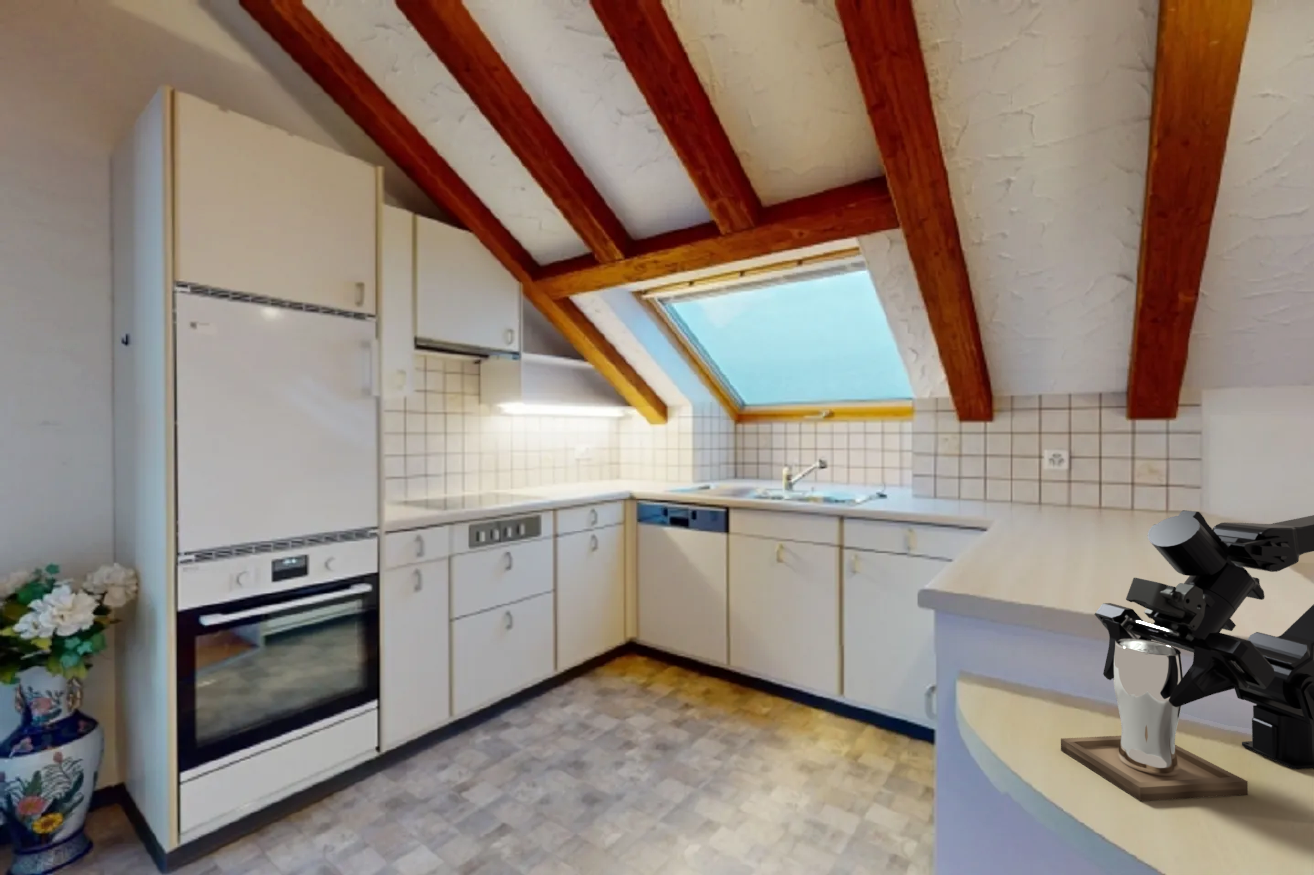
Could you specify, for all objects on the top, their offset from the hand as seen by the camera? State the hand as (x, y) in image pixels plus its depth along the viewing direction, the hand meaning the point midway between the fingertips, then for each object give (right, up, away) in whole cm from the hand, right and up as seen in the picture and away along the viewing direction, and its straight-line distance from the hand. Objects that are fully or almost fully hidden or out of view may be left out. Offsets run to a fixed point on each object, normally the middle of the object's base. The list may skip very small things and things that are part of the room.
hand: (1137, 690), depth 76 cm
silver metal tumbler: (+1, -10, 0) cm, 10 cm away
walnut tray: (+1, -10, 0) cm, 10 cm away
